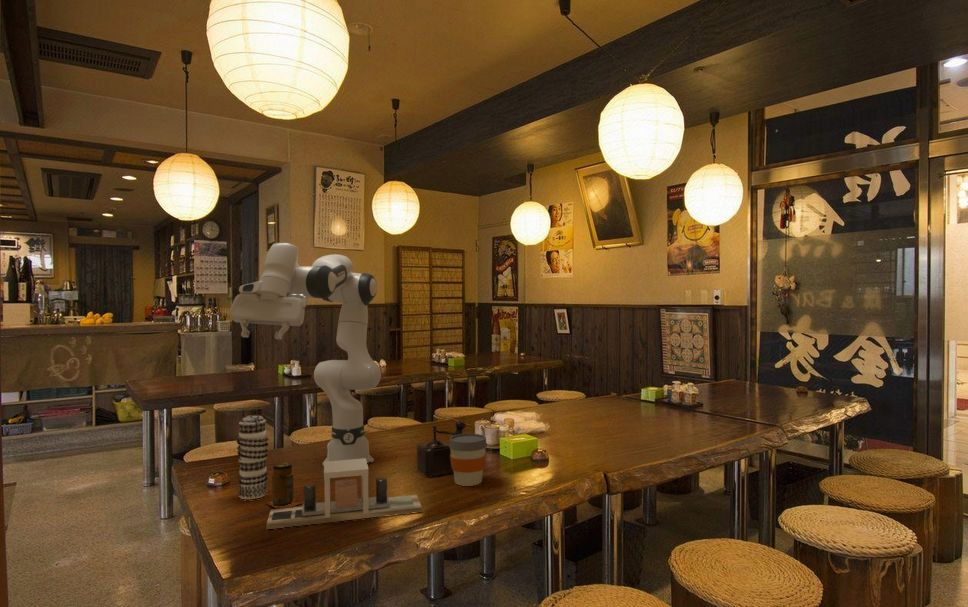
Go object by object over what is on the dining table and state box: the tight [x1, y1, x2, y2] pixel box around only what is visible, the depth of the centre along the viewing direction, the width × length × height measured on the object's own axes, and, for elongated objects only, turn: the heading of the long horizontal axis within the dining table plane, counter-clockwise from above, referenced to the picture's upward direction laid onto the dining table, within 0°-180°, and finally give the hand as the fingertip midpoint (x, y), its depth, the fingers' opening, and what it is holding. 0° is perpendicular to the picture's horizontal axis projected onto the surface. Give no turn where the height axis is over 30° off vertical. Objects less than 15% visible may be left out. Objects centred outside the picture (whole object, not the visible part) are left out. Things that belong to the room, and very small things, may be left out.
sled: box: [302, 477, 390, 516], centre depth 159 cm, size 7×24×7 cm, turn 105°
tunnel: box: [323, 458, 370, 518], centre depth 159 cm, size 11×12×12 cm
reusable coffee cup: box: [448, 433, 487, 486], centre depth 185 cm, size 12×13×15 cm
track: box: [265, 494, 423, 531], centre depth 159 cm, size 11×42×2 cm, turn 105°
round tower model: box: [236, 414, 269, 500], centre depth 175 cm, size 9×9×25 cm
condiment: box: [271, 462, 295, 506], centre depth 167 cm, size 7×8×12 cm
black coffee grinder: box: [416, 420, 467, 478], centre depth 198 cm, size 16×11×18 cm
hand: (261, 337), depth 152 cm, fingers open, 8 cm apart
